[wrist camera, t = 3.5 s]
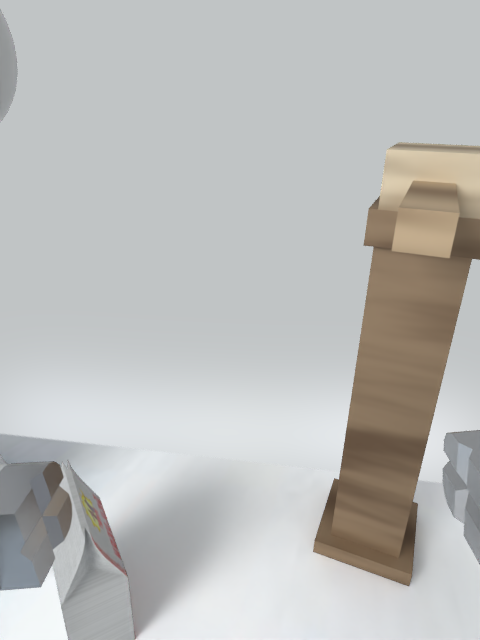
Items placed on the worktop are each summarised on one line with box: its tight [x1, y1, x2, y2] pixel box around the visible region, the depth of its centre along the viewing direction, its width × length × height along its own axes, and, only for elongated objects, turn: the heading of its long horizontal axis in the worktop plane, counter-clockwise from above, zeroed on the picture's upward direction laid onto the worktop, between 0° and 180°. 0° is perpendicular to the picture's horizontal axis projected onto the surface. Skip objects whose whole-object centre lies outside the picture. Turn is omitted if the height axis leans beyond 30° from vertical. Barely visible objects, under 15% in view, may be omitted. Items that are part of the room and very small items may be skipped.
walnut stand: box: [313, 196, 480, 586], centre depth 31 cm, size 7×7×26 cm
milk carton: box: [53, 461, 135, 640], centre depth 29 cm, size 4×7×10 cm, turn 29°
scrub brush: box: [378, 142, 480, 258], centre depth 22 cm, size 15×5×3 cm, turn 157°
